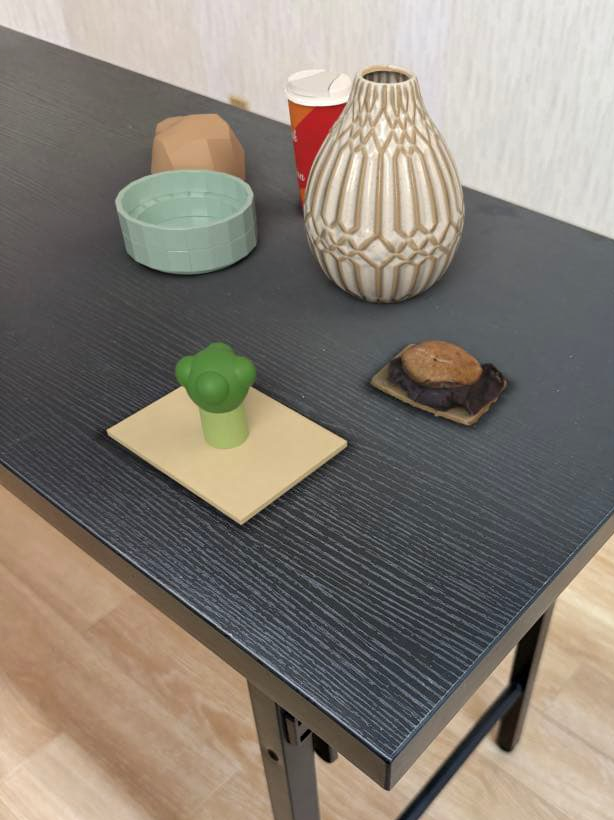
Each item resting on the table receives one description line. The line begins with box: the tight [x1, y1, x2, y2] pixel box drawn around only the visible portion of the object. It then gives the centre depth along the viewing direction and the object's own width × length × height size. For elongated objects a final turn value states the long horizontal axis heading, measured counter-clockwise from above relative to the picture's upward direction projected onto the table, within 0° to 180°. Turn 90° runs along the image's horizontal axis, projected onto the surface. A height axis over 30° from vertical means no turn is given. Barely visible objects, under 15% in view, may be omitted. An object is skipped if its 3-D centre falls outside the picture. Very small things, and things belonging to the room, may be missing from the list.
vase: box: [302, 64, 466, 304], centre depth 78 cm, size 16×16×20 cm
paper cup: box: [283, 68, 353, 211], centre depth 91 cm, size 8×8×14 cm
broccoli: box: [174, 341, 257, 449], centre depth 64 cm, size 6×6×8 cm
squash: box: [150, 113, 246, 182], centre depth 98 cm, size 11×20×9 cm, turn 27°
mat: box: [106, 385, 348, 526], centre depth 67 cm, size 16×12×1 cm
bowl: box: [114, 169, 259, 275], centre depth 87 cm, size 14×14×6 cm
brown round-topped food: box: [369, 339, 508, 427], centre depth 72 cm, size 11×8×4 cm
